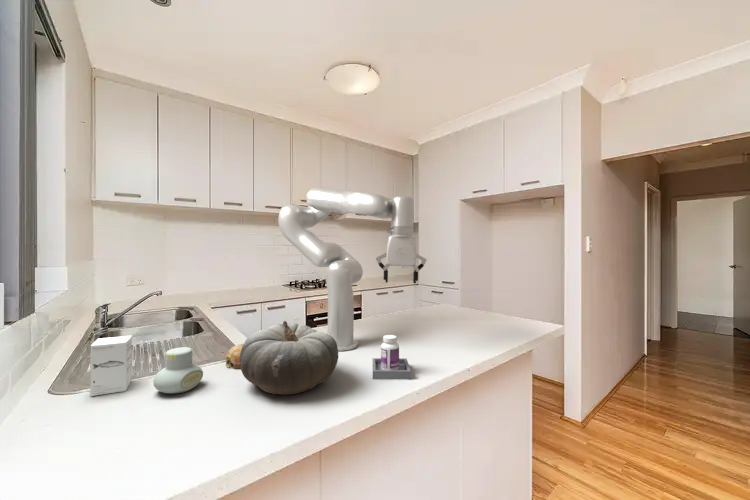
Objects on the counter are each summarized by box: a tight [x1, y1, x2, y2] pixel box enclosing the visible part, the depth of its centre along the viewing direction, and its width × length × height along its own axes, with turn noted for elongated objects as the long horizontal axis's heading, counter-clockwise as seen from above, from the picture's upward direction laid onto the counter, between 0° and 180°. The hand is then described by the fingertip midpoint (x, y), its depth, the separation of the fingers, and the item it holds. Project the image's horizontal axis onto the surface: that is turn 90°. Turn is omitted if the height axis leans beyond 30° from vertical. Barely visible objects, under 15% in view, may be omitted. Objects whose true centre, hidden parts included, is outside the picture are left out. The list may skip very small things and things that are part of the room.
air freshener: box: [152, 346, 204, 395], centre depth 85 cm, size 11×8×10 cm
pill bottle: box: [380, 334, 400, 370], centre depth 98 cm, size 5×5×10 cm
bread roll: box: [225, 343, 244, 370], centre depth 104 cm, size 10×10×8 cm
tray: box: [372, 357, 412, 380], centre depth 98 cm, size 11×11×2 cm
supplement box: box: [89, 335, 133, 397], centre depth 85 cm, size 7×7×13 cm
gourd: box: [240, 320, 339, 396], centre depth 89 cm, size 25×25×17 cm
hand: (400, 282), depth 114 cm, fingers open, 9 cm apart
